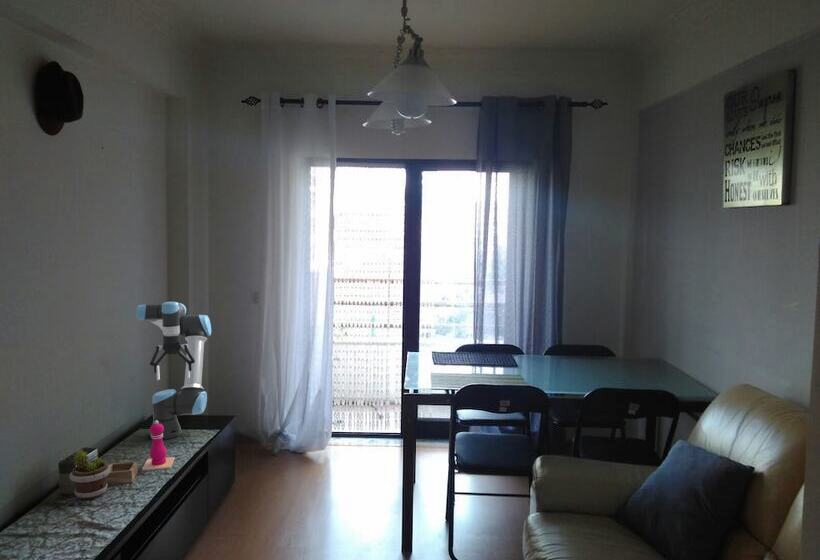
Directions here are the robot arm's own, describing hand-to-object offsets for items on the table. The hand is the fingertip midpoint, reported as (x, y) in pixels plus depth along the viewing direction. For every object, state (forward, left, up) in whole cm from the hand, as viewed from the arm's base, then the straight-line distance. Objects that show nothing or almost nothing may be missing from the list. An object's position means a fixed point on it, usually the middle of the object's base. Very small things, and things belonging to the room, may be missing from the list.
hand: (173, 378), depth 297 cm
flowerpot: (+41, -27, -37) cm, 61 cm away
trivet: (+13, -6, -37) cm, 39 cm away
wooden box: (+26, -19, -37) cm, 49 cm away
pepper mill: (+13, -6, -36) cm, 39 cm away
